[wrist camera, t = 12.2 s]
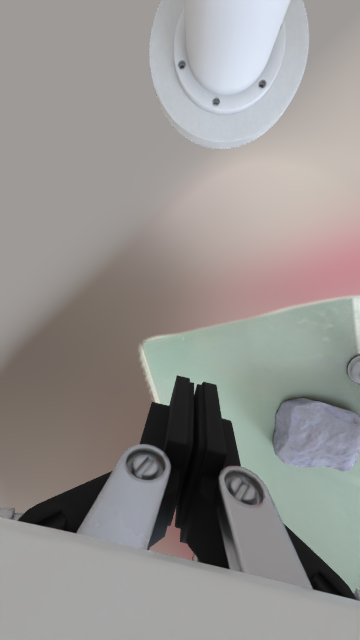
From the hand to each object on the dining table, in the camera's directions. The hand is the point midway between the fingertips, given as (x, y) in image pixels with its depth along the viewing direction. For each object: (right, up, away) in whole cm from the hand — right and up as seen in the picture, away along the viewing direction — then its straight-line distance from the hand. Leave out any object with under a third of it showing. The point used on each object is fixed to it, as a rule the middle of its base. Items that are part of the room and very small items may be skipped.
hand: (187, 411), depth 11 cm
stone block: (+20, -12, +30) cm, 38 cm away
